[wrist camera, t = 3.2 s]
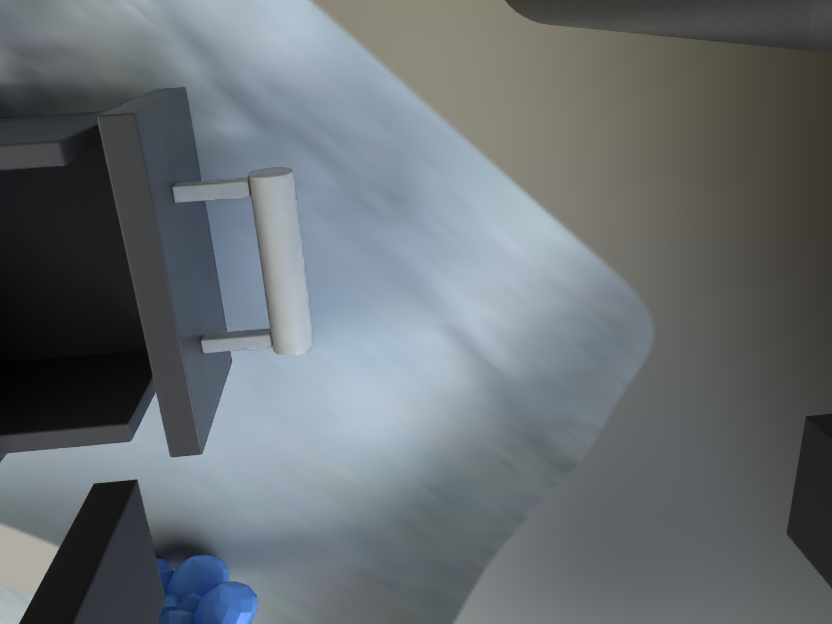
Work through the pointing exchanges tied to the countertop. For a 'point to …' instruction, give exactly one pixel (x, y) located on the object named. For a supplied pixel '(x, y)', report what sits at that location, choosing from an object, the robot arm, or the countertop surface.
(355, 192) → the countertop surface
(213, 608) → the grapes
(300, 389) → the countertop surface
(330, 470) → the countertop surface
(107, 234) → the grey drawer with handle
